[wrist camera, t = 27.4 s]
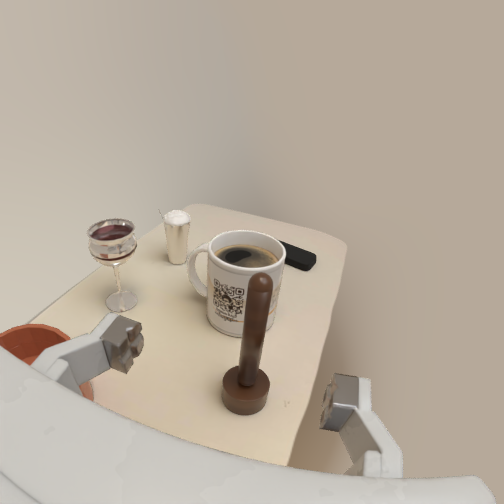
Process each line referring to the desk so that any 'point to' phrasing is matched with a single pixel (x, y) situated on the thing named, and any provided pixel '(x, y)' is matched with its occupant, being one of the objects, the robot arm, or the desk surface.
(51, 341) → the bowl
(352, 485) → the robot arm
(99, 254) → the wineglass
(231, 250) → the mug
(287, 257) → the remote control
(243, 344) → the brown plunger
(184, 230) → the milkshake
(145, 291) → the desk surface
